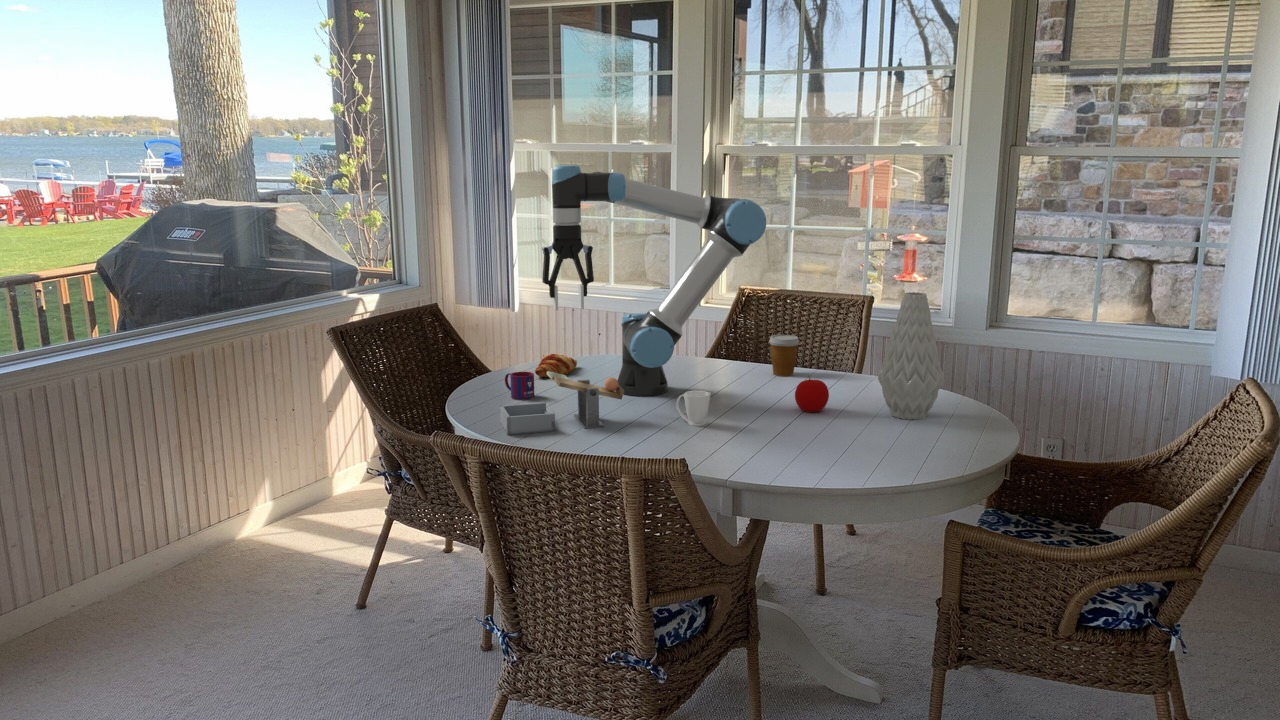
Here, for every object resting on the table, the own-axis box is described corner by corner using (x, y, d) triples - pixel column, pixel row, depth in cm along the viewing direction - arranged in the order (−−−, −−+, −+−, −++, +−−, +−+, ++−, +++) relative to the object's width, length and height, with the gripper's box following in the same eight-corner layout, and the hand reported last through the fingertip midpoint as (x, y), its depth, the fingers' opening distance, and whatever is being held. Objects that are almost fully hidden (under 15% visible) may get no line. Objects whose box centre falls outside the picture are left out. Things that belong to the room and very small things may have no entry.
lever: (607, 387, 260) (610, 378, 259) (621, 399, 247) (624, 390, 246) (546, 374, 254) (548, 364, 254) (557, 385, 241) (559, 376, 240)
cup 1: (521, 401, 270) (520, 377, 269) (499, 395, 277) (498, 372, 276) (539, 396, 275) (538, 373, 274) (517, 391, 282) (516, 368, 281)
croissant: (568, 376, 317) (559, 354, 317) (591, 365, 311) (581, 343, 312) (530, 388, 298) (520, 364, 299) (553, 376, 293) (543, 352, 294)
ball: (614, 390, 251) (617, 377, 251) (618, 393, 248) (621, 380, 247) (601, 388, 250) (604, 374, 249) (605, 391, 247) (608, 377, 246)
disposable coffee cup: (800, 377, 298) (801, 339, 296) (769, 377, 298) (770, 339, 296) (796, 371, 308) (797, 334, 305) (766, 371, 308) (767, 334, 305)
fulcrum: (592, 415, 255) (591, 378, 253) (603, 426, 244) (603, 388, 242) (573, 416, 254) (573, 380, 252) (584, 428, 242) (583, 390, 240)
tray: (545, 418, 252) (545, 402, 251) (555, 431, 240) (554, 413, 239) (500, 422, 248) (499, 405, 247) (507, 435, 237) (507, 417, 236)
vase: (872, 421, 249) (878, 296, 242) (879, 405, 264) (885, 288, 257) (939, 427, 243) (947, 299, 236) (943, 411, 258) (950, 290, 251)
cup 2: (700, 429, 242) (700, 398, 240) (668, 422, 248) (668, 392, 246) (715, 423, 247) (716, 392, 246) (684, 416, 253) (685, 387, 252)
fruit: (803, 404, 266) (804, 369, 264) (833, 409, 261) (835, 373, 258) (788, 411, 258) (789, 375, 256) (819, 416, 253) (820, 380, 251)
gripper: (598, 222, 262) (599, 305, 267) (528, 223, 257) (531, 308, 262) (605, 224, 255) (606, 309, 260) (534, 225, 250) (536, 312, 255)
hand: (568, 308), depth 261 cm, fingers open, 6 cm apart
